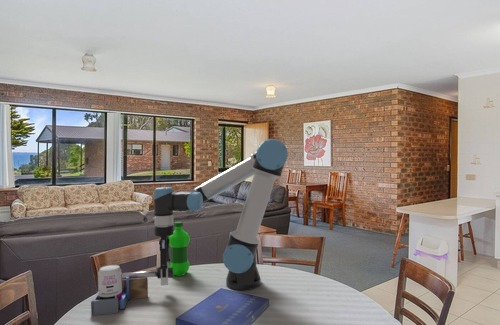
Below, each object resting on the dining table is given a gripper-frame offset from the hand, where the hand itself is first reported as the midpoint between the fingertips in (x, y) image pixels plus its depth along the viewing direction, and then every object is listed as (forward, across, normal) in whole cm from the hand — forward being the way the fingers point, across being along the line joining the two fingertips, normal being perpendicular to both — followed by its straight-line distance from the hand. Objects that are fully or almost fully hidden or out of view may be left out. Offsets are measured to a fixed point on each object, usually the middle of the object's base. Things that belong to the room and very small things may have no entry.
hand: (165, 281), depth 140 cm
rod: (+5, +5, -8) cm, 11 cm away
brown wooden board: (+6, 0, -14) cm, 15 cm away
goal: (+6, +7, -20) cm, 22 cm away
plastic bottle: (+6, -25, +5) cm, 26 cm away
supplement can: (+6, +7, -20) cm, 22 cm away
